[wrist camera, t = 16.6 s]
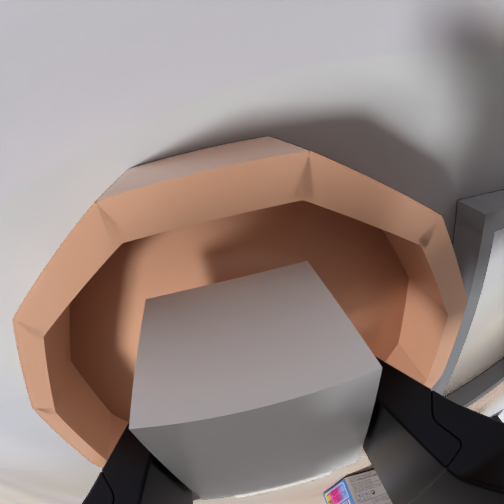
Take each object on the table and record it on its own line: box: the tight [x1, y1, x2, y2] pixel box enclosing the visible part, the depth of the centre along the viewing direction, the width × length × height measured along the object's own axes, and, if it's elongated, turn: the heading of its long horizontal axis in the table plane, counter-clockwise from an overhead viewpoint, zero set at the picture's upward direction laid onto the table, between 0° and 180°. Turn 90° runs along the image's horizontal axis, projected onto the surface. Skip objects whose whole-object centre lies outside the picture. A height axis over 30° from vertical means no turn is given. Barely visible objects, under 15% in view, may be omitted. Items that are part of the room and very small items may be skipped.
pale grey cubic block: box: [129, 261, 382, 500], centre depth 7 cm, size 4×4×4 cm
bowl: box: [13, 136, 467, 492], centre depth 11 cm, size 16×16×4 cm
